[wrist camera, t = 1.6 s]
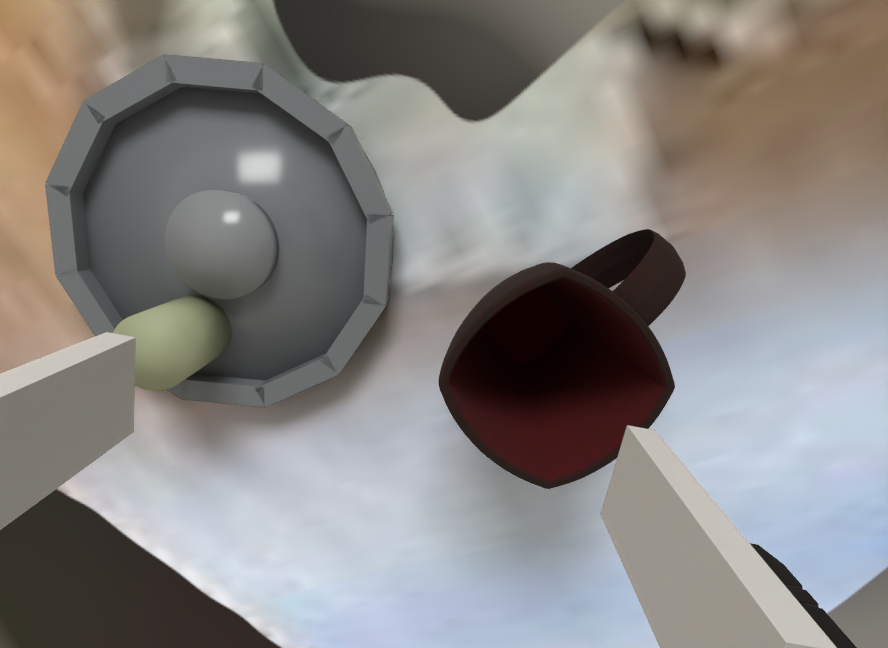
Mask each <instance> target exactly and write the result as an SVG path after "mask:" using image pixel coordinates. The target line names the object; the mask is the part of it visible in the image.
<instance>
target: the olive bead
mask: <svg viewBox="0 0 888 648" xmlns="http://www.w3.org/2000/svg"><path fill="white" fill-rule="evenodd" d="M113 333H115V334H120V335H126V336H131V337H136V352H135V385H136V386H138V387H141V388H143V389H147V390H152V391H160V390H166V389H169V388H172V387H174V386H176V385H177V384H179V383H180V382H182V381H183V380H185V379H186V378H188V377H189V376H191V375H192V374H194V373H195V372H197V371H198V370H200V369H201V368H202V367H204V366H205V365H207V364H208V363H210V362H211V361H213V360H214V359H216V358H217V357H219V356H220V355H221V354H223V353H224V352H225V350H226V349H227V348H228V346H229V343H230V340H231V333H232V331H231V325H230V321H229V319H228V317H227V315H226V313H225V312H224V310H223V309H222V308H221V307H220V306H219V305H218V304H217V303H215V302H214V301H212V300H210V299H208V298H206V297H203V296H198V295H187V296H183V297H180V298H178V299H175V300H172V301H170V302H167V303H164V304H162V305H159V306H156V307H154V308H151V309H148V310H146V311H143V312H140V313H137V314H135V315H132V316H130V317H127V318H126V319H124V320H123V321H121V322H120V323H119V324H118V325H117V326H116V328H115V330H114V331H113Z"/></svg>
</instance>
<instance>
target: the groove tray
mask: <svg viewBox="0 0 888 648" xmlns="http://www.w3.org/2000/svg"><path fill="white" fill-rule="evenodd" d="M84 101H85V102H84ZM84 101H83V102H82V105H81V107H80V109H79V111H78V113H77V115H76V118H75V120H74V122H73V124H72V126H71V128H70V131H69V133H68V135H67V137H66V139H65V141H64V144H63V146H62V148H61V150H60V152H59V154H58V157H57V159H56V161H55V163H54V165H53V167H52V170H51V172H50V174H49V176H48V178H47V180H46V184H45V187H46V196H47V205H48V214H49V222H50V231H51V240H52V249H53V258H54V267H55V275H57V276H56V277H57V279H58V280H59V282H60V283H61V285H62V286H63V288H64V289H65V291H66V292H67V294H68V295H69V297H70V298H71V300H72V301H73V303H74V305H75V306H76V308H77V309H78V311H79V312H80V314H81V315H82V317H83V318H84V320H85V321H86V323H87V324H88V326H89V327H90V329H91V330H92V332H93V333H94V335H95V336H98V335H100V334H103V333H106V332H109V333H113V331H114V330H115V328H116V326H117V325H118V324H119V323H120V322H121V321H123V320H124V319H126V318H127V317H130V316H132V315H135V314H137V313H140V312H143V311H146V310H148V309H151V308H154V307H156V306H159V305H162V304H164V303H167V302H170V301H172V300H175V299H178V298H180V297H183V296H187V295H198V296H203V297H206V298H208V299H210V300H212V301H214V302H215V303H217V304H218V305H219V306H220V307H221V308H222V309H223V310H224V312H225V313H226V315H227V317H228V319H229V321H230V325H231V331H232V333H231V340H230V343H229V346H228V348H227V349H226V350H225V352H224V353H223V354H221V355H220V356H219V357H217V358H216V359H214V360H213V361H211V362H210V363H208V364H207V365H205V366H204V367H202V368H201V369H200V370H198V371H197V372H195V373H194V374H192V375H191V376H189V377H188V378H186V379H185V380H183V381H182V382H180V383H179V384H177V385H176V386H174V387H172V388H169V389H166V390H167V391H169V392H171V393H172V394H174V395H175V396H177V397H179V398H180V399H183V400H194V401H204V402H215V403H225V404H236V405H246V406H257V407H267V406H269V405H271V404H274V403H276V402H278V401H280V400H283V399H285V398H287V397H289V396H292V395H294V394H296V393H298V392H301V391H303V390H305V389H308V388H310V387H312V386H314V385H317V384H319V383H321V382H323V381H326V380H328V379H330V378H332V377H335V376H337V375H338V374H340V372H341V371H342V369H343V368H344V366H345V365H346V363H347V362H348V360H349V359H350V358H351V356H352V355H353V353H354V352H355V350H356V349H357V347H358V346H359V344H360V343H361V342H362V340H363V339H364V337H365V336H366V334H367V333H368V331H369V330H370V328H371V327H372V326H373V324H374V323H375V321H376V320H377V318H378V317H379V315H380V314H381V312H382V311H383V310H384V308H385V307H386V305H387V304H388V300H389V284H390V277H391V269H392V261H393V217H394V215H391V214H393V212H392V210H391V208H390V205H389V203H388V201H387V199H386V197H385V194H384V191H383V189H382V186H381V184H380V181H379V179H378V176H377V174H376V172H375V170H374V168H373V166H372V164H371V163H370V161H369V159H368V157H367V155H366V154H365V152H364V150H363V149H362V147H361V145H360V143H359V141H358V139H357V137H356V134H355V132H354V130H353V128H352V127H351V126H350V125H349V124H347V123H346V122H345V121H343V120H342V119H340V118H339V117H338V116H336V115H335V114H333V113H332V112H331V111H329V110H328V109H327V108H325V107H324V106H322V105H321V104H320V103H318V102H317V101H316V100H314V99H313V98H311V97H310V96H309V95H307V94H306V93H304V92H303V91H302V90H300V89H299V88H298V87H296V86H295V85H293V84H292V83H291V82H289V81H288V80H287V79H285V78H284V77H282V76H281V75H280V74H278V73H277V72H275V71H274V70H273V69H271V68H270V67H268V66H267V65H265V64H263V63H256V62H244V61H233V60H222V59H211V58H199V57H188V56H177V55H162V56H160V57H159V58H157V59H155V60H153V61H152V62H150V63H148V64H146V65H145V66H143V67H141V68H139V69H138V70H136V71H134V72H132V73H131V74H129V75H127V76H125V77H124V78H122V79H120V80H118V81H117V82H115V83H113V84H111V85H110V86H108V87H106V88H104V89H103V90H101V91H99V92H97V93H96V94H94V95H92V96H90V97H89V98H87V99H85V100H84Z"/></svg>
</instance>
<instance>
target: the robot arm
mask: <svg viewBox="0 0 888 648" xmlns="http://www.w3.org/2000/svg"><path fill="white" fill-rule="evenodd" d="M135 352H136V337H131V336H126V335H120V334H115V333H109V332H106V333H103V334H100V335H98V336H95V337H93V338H90V339H88V340H85V341H83V342H80V343H77V344H75V345H72V346H70V347H67V348H65V349H62V350H60V351H57V352H55V353H52V354H49V355H47V356H44V357H42V358H39V359H37V360H34V361H32V362H29V363H26V364H24V365H21V366H19V367H16V368H14V369H11V370H9V371H6V372H4V373H1V374H0V530H1V529H2V528H3V527H5V526H6V525H7V524H9V523H10V522H12V521H13V520H14V519H16V518H17V517H18V516H20V515H21V514H23V513H24V512H25V511H26V510H28V509H29V508H31V507H32V506H33V505H35V504H36V503H37V502H39V501H40V500H41V499H43V498H44V497H46V496H47V495H48V494H50V493H51V492H53V491H54V490H55V489H57V488H58V487H59V486H61V485H62V484H63V483H65V482H66V481H68V480H69V479H70V478H72V477H73V476H74V475H76V474H77V473H78V472H80V471H81V470H83V469H84V468H85V467H87V466H88V465H89V464H91V463H92V462H93V461H95V460H96V459H98V458H99V457H100V456H102V455H103V454H104V453H106V452H107V451H108V450H110V449H111V448H113V447H114V446H115V445H117V444H118V443H119V442H121V441H122V440H123V439H125V438H126V437H128V436H129V435H130V434H132V433H133V432H134V396H135ZM601 516H602V519H603V521H604V523H605V525H606V528H607V530H608V532H609V534H610V536H611V539H612V541H613V543H614V545H615V548H616V550H617V552H618V554H619V557H620V559H621V561H622V563H623V566H624V568H625V570H626V572H627V575H628V577H629V579H630V581H631V584H632V586H633V588H634V590H635V593H636V595H637V597H638V599H639V602H640V604H641V606H642V608H643V611H644V613H645V615H646V617H647V620H648V622H649V624H650V626H651V629H652V631H653V633H654V635H655V637H656V640H657V642H658V644H659V646H660V648H857V647H855V645H854V644H853V643H852V642H851V641H850V639H849V638H848V637H847V636H846V635H845V634H844V633H843V632H842V631H841V629H840V628H839V627H838V626H837V625H836V624H835V622H834V621H833V620H832V619H831V618H830V617H829V616H828V614H827V613H826V612H825V611H824V610H823V609H821V608H819V607H818V603H817V602H816V601H815V600H814V599H813V597H812V596H811V595H810V594H809V593H808V592H807V591H806V590H803V589H802V585H801V584H800V583H799V581H798V580H797V579H796V578H795V577H794V576H793V575H792V574H791V572H790V571H789V570H788V569H787V568H786V567H785V566H784V565H783V564H782V563H781V562H780V561H778V560H777V559H776V558H774V557H773V556H772V555H771V554H769V553H768V552H767V551H765V550H764V549H763V548H761V547H760V546H759V545H756V544H750V543H749V542H748V541H747V540H746V538H745V537H744V536H743V535H742V534H741V532H740V531H739V530H738V529H737V528H736V526H735V525H734V524H733V523H732V522H731V520H730V519H729V518H728V517H727V516H726V515H725V513H724V512H723V511H722V510H721V509H720V507H719V506H718V505H717V504H716V503H715V501H714V500H713V499H712V498H711V497H710V495H709V494H708V493H707V492H706V491H705V489H704V488H703V487H702V486H701V485H700V483H699V482H698V481H697V480H696V479H695V477H694V476H693V475H692V474H691V473H690V471H689V470H688V469H687V468H686V467H685V465H684V464H683V463H682V462H681V461H680V459H679V458H678V457H677V456H676V455H675V453H674V452H673V451H672V450H671V449H670V447H669V446H668V445H667V444H666V443H665V441H664V440H663V439H662V438H661V437H660V435H659V434H658V433H657V432H656V431H655V430H651V429H645V428H640V427H634V426H628V425H627V427H626V430H625V434H624V437H623V440H622V444H621V447H620V450H619V454H618V457H617V460H616V464H615V467H614V470H613V474H612V477H611V480H610V484H609V487H608V490H607V494H606V497H605V500H604V504H603V507H602V510H601Z"/></svg>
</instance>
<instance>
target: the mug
mask: <svg viewBox="0 0 888 648" xmlns="http://www.w3.org/2000/svg"><path fill="white" fill-rule="evenodd" d="M685 275H686V272H685V268H684V265H683V262H682V260H681V259H680V257H679V255H678V254H677V252H676V250H675V249H674V247H673V246H672V245H671V244H670V243H669V242H668V241H666V240H665V239H664V238H663V237H662V236H660V235H659V234H658V233H656V232H654V231H652V230H649V229H647V230H641V231H637V232H634V233H631V234H628V235H626V236H624V237H622V238H620V239H618V240H616V241H614V242H612V243H610V244H608V245H607V246H605V247H603V248H601V249H600V250H598V251H596V252H595V253H593V254H592V255H590V256H588V257H587V258H585V259H584V260H582V261H581V262H579V263H578V264H576V265H575V266H574V267H572V268H571V269H570V268H568V267H565V266H563V265H560V264H557V263H549V262H548V263H542V264H539V265H536V266H533V267H530V268H528V269H525V270H523V271H520V272H518V273H516V274H514V275H512V276H511V277H509V278H507V279H506V280H504V281H503V282H501V283H500V284H498V285H497V286H496V287H494V288H493V289H492V290H491V291H490V292H488V293H487V294H486V295H485V296H484V297H483V298H482V299H481V300H480V301H479V302H478V304H477V305H476V306H475V307H474V308H473V309H472V310H471V312H470V313H469V314H468V316H467V317H466V318H465V320H464V321H463V323H462V324H461V326H460V327H459V329H458V330H457V332H456V334H455V336H454V338H453V340H452V342H451V344H450V346H449V348H448V351H447V353H446V355H445V358H444V361H443V364H442V367H441V371H440V375H439V387H440V391H441V393H442V395H443V398H444V400H445V403H446V405H447V407H448V409H449V411H450V413H451V414H452V416H453V418H454V419H455V421H456V422H457V424H458V425H459V427H460V428H461V429H462V431H463V432H464V433H465V435H466V436H467V437H468V438H469V439H470V441H471V442H472V443H473V444H474V445H475V446H476V447H477V448H478V449H479V450H480V451H481V452H482V453H484V454H485V455H486V456H487V457H488V458H489V459H491V460H492V461H493V462H495V463H496V464H497V465H499V466H500V467H502V468H503V469H505V470H506V471H508V472H510V473H512V474H513V475H515V476H517V477H519V478H521V479H523V480H526V481H528V482H530V483H533V484H535V485H538V486H541V487H543V488H547V489H550V488H554V487H558V486H561V485H564V484H567V483H571V482H573V481H576V480H579V479H581V478H583V477H585V476H587V475H589V474H591V473H593V472H595V471H597V470H599V469H600V468H602V467H604V466H605V465H607V464H608V463H610V462H612V461H613V460H615V459H616V458H617V457H618V454H619V450H620V447H621V444H622V440H623V437H624V434H625V430H626V427H627V425H628V426H634V427H640V428H645V429H649V427H650V426H651V425H652V424H653V423H654V421H655V420H656V418H657V417H658V416H659V414H660V413H661V411H662V410H663V408H664V407H665V405H666V403H667V401H668V400H669V398H670V396H671V394H672V392H673V391H674V388H675V384H674V381H673V377H672V374H671V370H670V367H669V364H668V361H667V359H666V356H665V354H664V352H663V350H662V348H661V346H660V344H659V342H658V341H657V339H656V337H655V336H654V334H653V332H652V331H651V330H650V328H649V327H648V326H649V325H650V324H651V323H652V322H653V321H654V320H655V319H656V318H657V317H658V316H659V315H660V314H661V313H662V312H663V311H664V310H665V309H666V307H667V306H668V305H669V304H670V303H671V301H672V300H673V299H674V297H675V296H676V294H677V293H678V291H679V289H680V288H681V286H682V284H683V282H684V279H685ZM623 280H624V281H623ZM621 281H623V282H622V283H621V284H620V285H619V286H618V287H617V288H616V289H615V290H613V291H611V290H610V289H608V288H610V287H612V286H614V285H615V284H617V283H619V282H621Z"/></svg>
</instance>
